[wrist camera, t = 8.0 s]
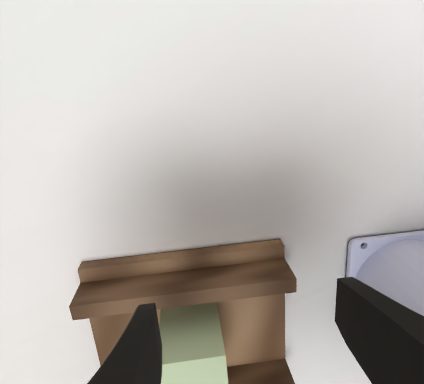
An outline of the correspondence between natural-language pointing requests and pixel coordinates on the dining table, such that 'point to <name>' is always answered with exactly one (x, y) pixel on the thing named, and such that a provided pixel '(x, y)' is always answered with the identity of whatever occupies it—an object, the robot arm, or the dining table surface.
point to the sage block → (192, 345)
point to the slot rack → (199, 300)
